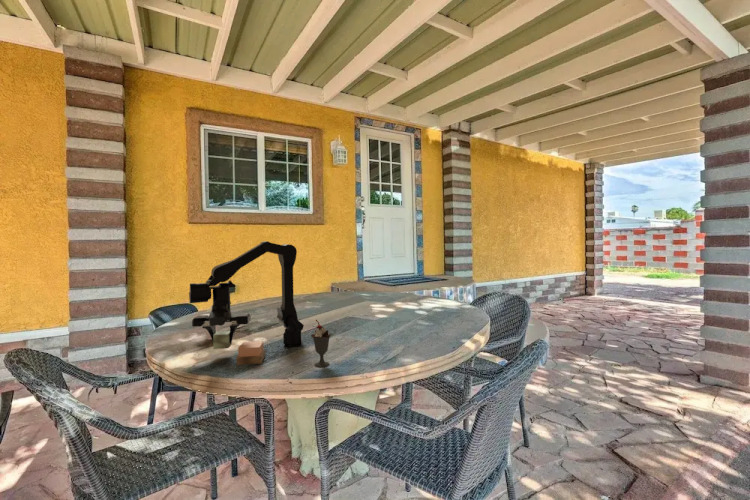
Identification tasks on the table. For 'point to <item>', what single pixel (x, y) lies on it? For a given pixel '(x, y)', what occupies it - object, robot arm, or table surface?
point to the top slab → (250, 349)
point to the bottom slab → (251, 359)
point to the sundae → (321, 344)
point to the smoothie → (208, 332)
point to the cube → (221, 339)
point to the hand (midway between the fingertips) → (222, 343)
